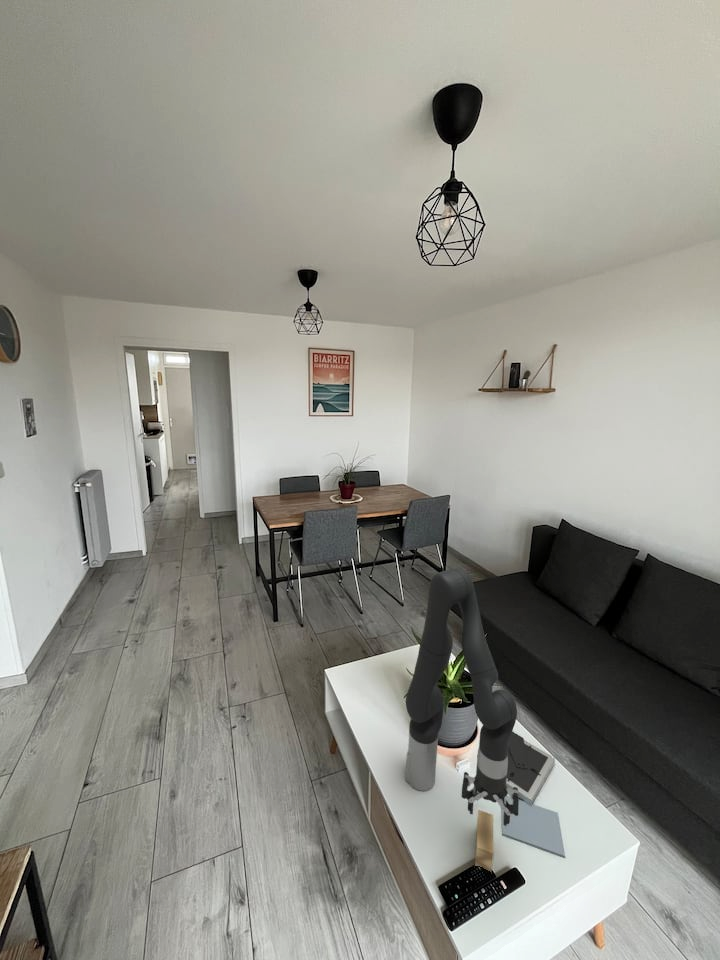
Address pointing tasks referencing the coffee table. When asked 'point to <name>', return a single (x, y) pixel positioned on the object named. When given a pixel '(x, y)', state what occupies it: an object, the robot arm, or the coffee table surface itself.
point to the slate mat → (535, 828)
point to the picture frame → (527, 767)
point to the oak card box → (484, 840)
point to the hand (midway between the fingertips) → (488, 816)
